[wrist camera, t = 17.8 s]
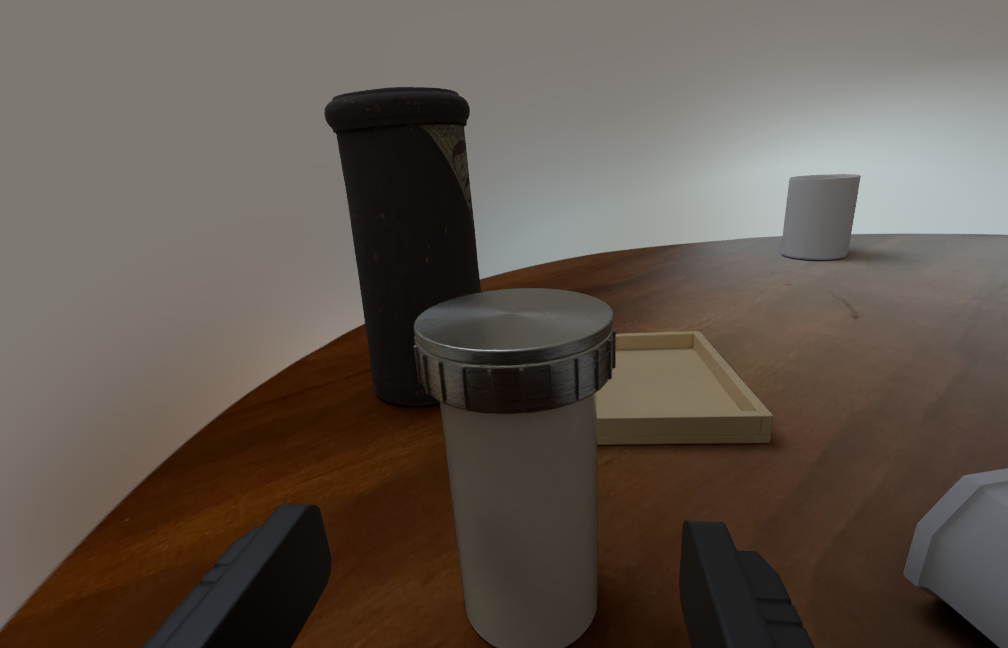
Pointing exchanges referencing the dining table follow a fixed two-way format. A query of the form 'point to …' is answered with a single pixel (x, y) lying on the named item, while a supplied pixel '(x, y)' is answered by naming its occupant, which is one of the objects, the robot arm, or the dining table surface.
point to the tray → (676, 395)
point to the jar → (526, 521)
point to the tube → (967, 552)
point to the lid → (515, 350)
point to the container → (406, 218)
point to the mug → (819, 216)
